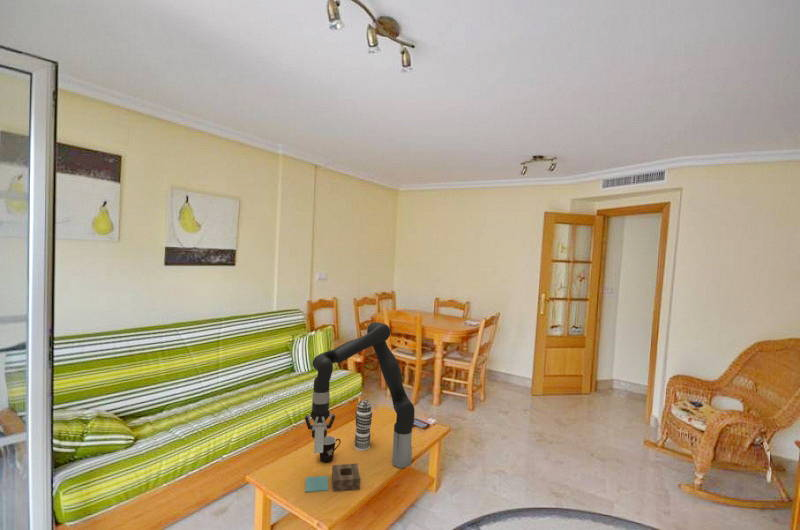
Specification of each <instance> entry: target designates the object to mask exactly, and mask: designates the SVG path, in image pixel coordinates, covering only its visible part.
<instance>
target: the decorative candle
mask: <svg viewBox="0 0 800 530" xmlns="http://www.w3.org/2000/svg"><path fill="white" fill-rule="evenodd" d="M372 406H373V404H372V403H371V402H370V401H369V400H365V399H364V400H363V399H362V400H359V402H357V403H356V411H355V433H354V449H355V450H356V451H359V452H364V451H367V450H369V449H370V447H371V435H372V434H371V426H372V420H373V419H372V418H373V416H372V415H373V412H372Z"/></svg>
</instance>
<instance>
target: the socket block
mask: <svg viewBox="0 0 800 530" xmlns="http://www.w3.org/2000/svg"><path fill="white" fill-rule="evenodd" d="M331 481H332V482H331V483H332V484H331V485H332V492H334V493H335V492H345V491H346V492H347V491H354V490H355V491H359V490H360V488H361V475H360V469H359V463H343V464H332V468H331Z"/></svg>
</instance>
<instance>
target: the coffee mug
mask: <svg viewBox="0 0 800 530" xmlns="http://www.w3.org/2000/svg"><path fill="white" fill-rule="evenodd" d="M337 441H338V442H339V443H338V445H336V442H337ZM341 443H342V442H341V439H340V438H336V437H334V436H332V435H327V436H325V438H324V443H323V453H319V461H320V462H321V463H323V464H328V463H331V462H332V461H333V458H334V453H335V451H336V450H337V449H338V448H339V446H340V444H341Z"/></svg>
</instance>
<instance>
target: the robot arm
mask: <svg viewBox="0 0 800 530" xmlns="http://www.w3.org/2000/svg"><path fill="white" fill-rule="evenodd" d="M390 336H391V328H390V327H389V325H387V324H386V323H382V322H376V321H373V322H371V323H370V324H369V325H368V326H367V329H366V334H365V335H363V336H360V337H358V338H355V339H354V338H353V339H352V340H349V341H346V342H344V343H343V344H341V345H339V346H337V347H335V348H334V349H330V350H328V351H324V352H322V353H319V354H318V355H316V356H315V357H314V359H313V360H312V367H313V368H314V370H316V371H317V376H316V377H315V378H314V381H313V390H312V399H311V403H312V404H311V412H310V414H305V416H304V421H305V424H306V427H307V429H308V430H311V437H312V439H315V426H316V424H317V423H323V426H324V438H325V436H328V430H330V429H331V428H332V426H333V424H334V421H335V419H336V414H335V413H330V398H331V397H330V381H331V378H332V374H333V370H334V367H333V364H340V363H343V362H344V361H345V362H346V360H348V359H350V358H351V357H353V356H354V355H356V354H359V353H361V352H362V351H365V350H366V349H368V348H371V347H372V348H373V350H374V352H375V357H376V359H377V362H378V364H379V368H380V371H381V373H382V374H381V375H382V377H383V380H384V382H385V384H386V386H387V388H388V390H389V393H390V396H391V401H392V406H393V409H394V412H395V413H396V420H395V421H396V422H395V423H394V426H393V440H392V441H393V442H392V457H391V461H392V462H391V463H392V466H394V468H395V467H396V468H398V469H406V468H409V467H410V466H412V455H413V446H412V436H413V434H412V433H413V428H414V423H415V406H414V404H413V403H412V401H411V400H410V398H409V396H408V395H407V393H406V390H405V387H404V384H403V375H402V371H401V368H400V365H399V362H398V360H397V358H396V356H395V355H394V354H393V353H392V351H391V350H390V348H389V346H388V344H387V340H389V337H390ZM328 418H329V422H328V423H327V420H328ZM311 419H312V420H313V423H312V425H311V421H310V420H311Z"/></svg>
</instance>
